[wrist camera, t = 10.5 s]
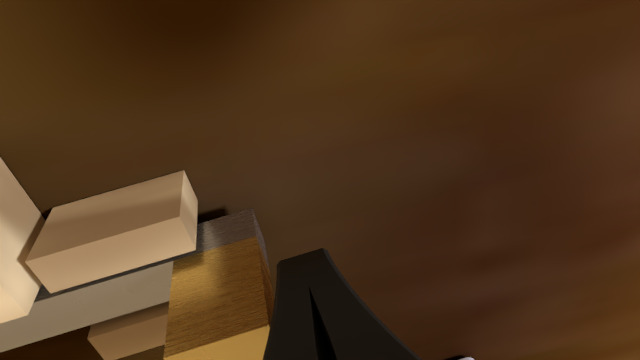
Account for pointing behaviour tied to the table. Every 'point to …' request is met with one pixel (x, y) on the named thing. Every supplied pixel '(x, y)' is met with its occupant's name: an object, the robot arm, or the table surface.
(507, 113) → the table surface
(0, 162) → the dock
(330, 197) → the table surface
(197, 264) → the pin
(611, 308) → the table surface
